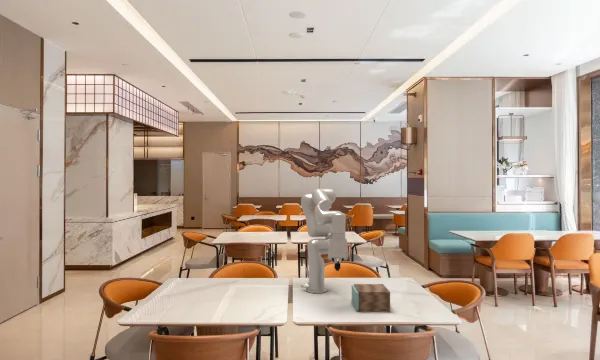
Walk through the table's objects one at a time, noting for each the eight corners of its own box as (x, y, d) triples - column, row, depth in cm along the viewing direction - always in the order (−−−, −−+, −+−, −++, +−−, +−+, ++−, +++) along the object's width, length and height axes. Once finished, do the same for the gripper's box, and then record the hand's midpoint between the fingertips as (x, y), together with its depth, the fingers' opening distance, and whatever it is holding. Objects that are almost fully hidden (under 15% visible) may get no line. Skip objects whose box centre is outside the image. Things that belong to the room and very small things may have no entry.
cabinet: (359, 311, 207) (359, 292, 207) (353, 302, 223) (354, 284, 223) (390, 311, 208) (390, 292, 208) (382, 302, 224) (382, 284, 224)
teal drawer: (356, 310, 208) (356, 292, 208) (351, 301, 223) (351, 285, 223) (387, 310, 208) (387, 292, 208) (380, 301, 224) (380, 285, 224)
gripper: (324, 237, 211) (323, 272, 212) (353, 237, 212) (352, 272, 212) (323, 234, 219) (322, 268, 219) (351, 235, 219) (350, 268, 220)
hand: (337, 270), depth 216 cm, fingers closed
